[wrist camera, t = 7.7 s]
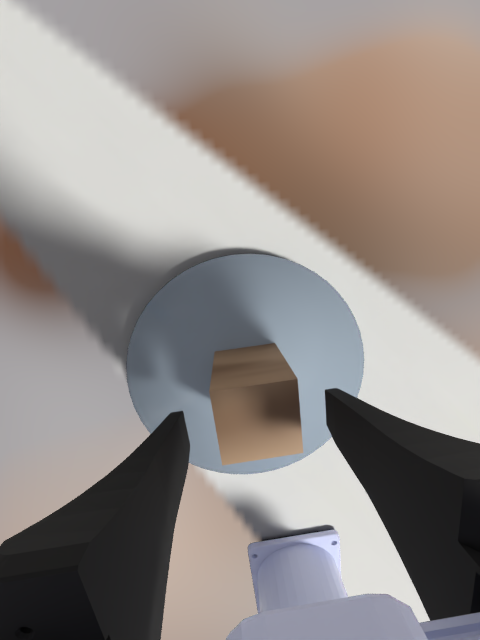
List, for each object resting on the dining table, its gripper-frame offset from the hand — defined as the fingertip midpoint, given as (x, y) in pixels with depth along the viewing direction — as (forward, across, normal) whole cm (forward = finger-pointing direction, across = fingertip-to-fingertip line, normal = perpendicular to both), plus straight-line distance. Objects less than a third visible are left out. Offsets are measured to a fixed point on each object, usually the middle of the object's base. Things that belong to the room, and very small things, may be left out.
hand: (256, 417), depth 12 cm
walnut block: (+4, 0, 0) cm, 4 cm away
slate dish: (+5, 0, 0) cm, 5 cm away
